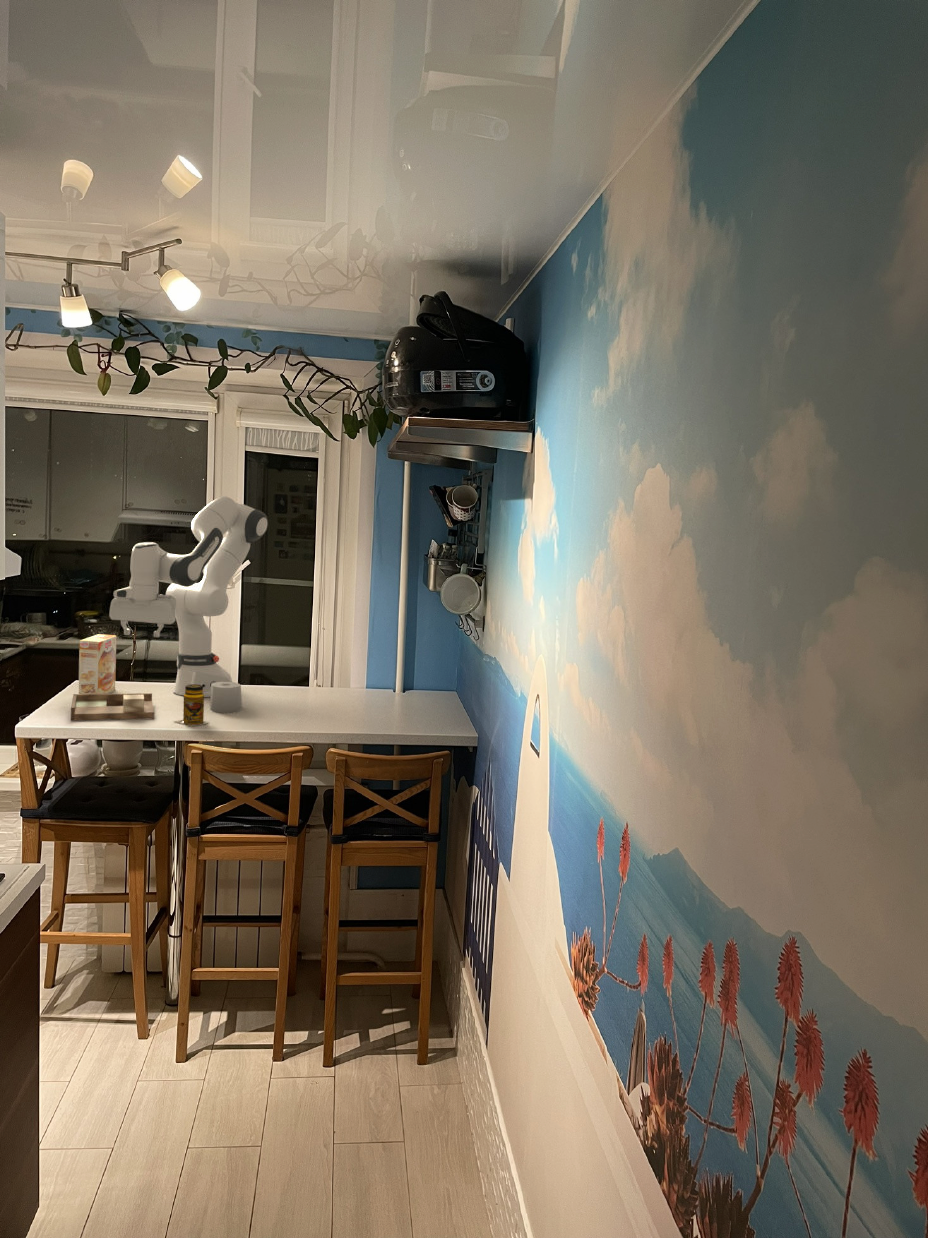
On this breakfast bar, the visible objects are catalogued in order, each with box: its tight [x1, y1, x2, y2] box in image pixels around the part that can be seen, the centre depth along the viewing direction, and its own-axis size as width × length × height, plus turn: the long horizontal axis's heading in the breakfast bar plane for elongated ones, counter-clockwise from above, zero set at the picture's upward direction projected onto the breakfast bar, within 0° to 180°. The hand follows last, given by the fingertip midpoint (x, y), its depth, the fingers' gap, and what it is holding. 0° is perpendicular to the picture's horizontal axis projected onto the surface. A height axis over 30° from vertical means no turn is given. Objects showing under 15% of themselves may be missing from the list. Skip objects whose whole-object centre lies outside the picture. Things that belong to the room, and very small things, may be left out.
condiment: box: [174, 684, 210, 728], centre depth 284 cm, size 7×8×12 cm
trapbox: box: [70, 692, 155, 721], centre depth 290 cm, size 24×18×4 cm
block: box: [123, 695, 144, 712], centre depth 288 cm, size 6×6×4 cm
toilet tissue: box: [209, 681, 243, 714], centre depth 305 cm, size 9×13×9 cm
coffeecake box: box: [78, 633, 117, 694], centre depth 312 cm, size 15×7×20 cm, turn 179°
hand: (141, 635), depth 293 cm, fingers open, 8 cm apart
